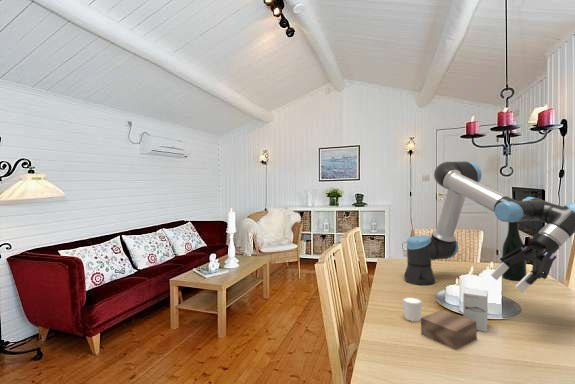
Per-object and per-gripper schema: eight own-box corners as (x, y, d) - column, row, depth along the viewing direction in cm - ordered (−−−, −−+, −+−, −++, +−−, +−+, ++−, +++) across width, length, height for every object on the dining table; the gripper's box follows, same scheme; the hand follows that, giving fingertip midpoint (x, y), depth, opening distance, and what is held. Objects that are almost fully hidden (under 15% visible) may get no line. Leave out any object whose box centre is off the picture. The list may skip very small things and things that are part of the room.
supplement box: (462, 327, 110) (462, 292, 109) (464, 320, 116) (464, 286, 116) (487, 333, 106) (487, 296, 105) (488, 324, 112) (487, 289, 112)
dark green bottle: (531, 281, 158) (530, 217, 158) (508, 281, 160) (507, 217, 159) (519, 275, 168) (518, 215, 168) (498, 275, 170) (497, 215, 170)
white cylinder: (421, 315, 121) (421, 297, 121) (423, 323, 114) (422, 304, 114) (402, 313, 123) (402, 296, 123) (403, 321, 116) (402, 302, 116)
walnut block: (421, 335, 106) (420, 317, 106) (442, 326, 112) (441, 309, 112) (455, 350, 95) (455, 331, 95) (476, 339, 102) (476, 321, 102)
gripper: (589, 255, 96) (540, 303, 97) (530, 241, 121) (491, 279, 122) (571, 238, 97) (522, 286, 97) (516, 228, 121) (477, 266, 122)
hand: (505, 283), depth 110 cm, fingers open, 13 cm apart
